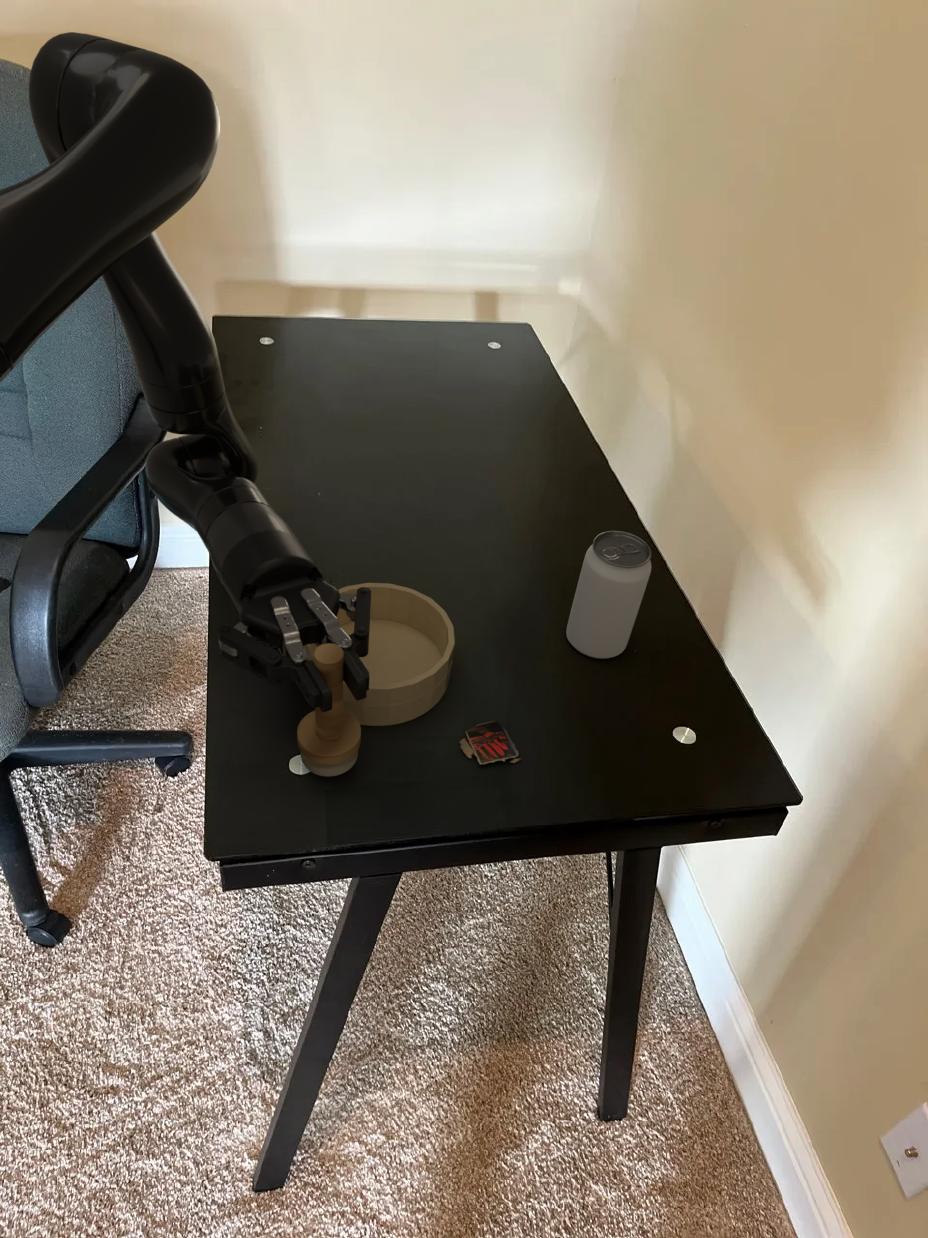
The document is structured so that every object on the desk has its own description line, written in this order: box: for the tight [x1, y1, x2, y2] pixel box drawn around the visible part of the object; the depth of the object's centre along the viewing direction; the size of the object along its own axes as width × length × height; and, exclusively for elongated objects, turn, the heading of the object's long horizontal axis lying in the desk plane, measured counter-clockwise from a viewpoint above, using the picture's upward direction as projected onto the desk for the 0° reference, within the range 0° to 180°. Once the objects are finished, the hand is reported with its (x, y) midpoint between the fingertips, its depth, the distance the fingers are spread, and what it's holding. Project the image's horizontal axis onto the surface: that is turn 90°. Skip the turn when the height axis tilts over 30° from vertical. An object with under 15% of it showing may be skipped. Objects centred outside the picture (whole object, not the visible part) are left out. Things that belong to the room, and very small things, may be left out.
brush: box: [296, 643, 362, 777], centre depth 66 cm, size 5×5×12 cm
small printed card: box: [458, 720, 522, 765], centre depth 74 cm, size 5×5×1 cm
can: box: [565, 530, 652, 660], centre depth 82 cm, size 6×6×12 cm
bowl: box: [303, 582, 456, 727], centre depth 78 cm, size 14×14×5 cm
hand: (345, 697), depth 61 cm, fingers closed on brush
